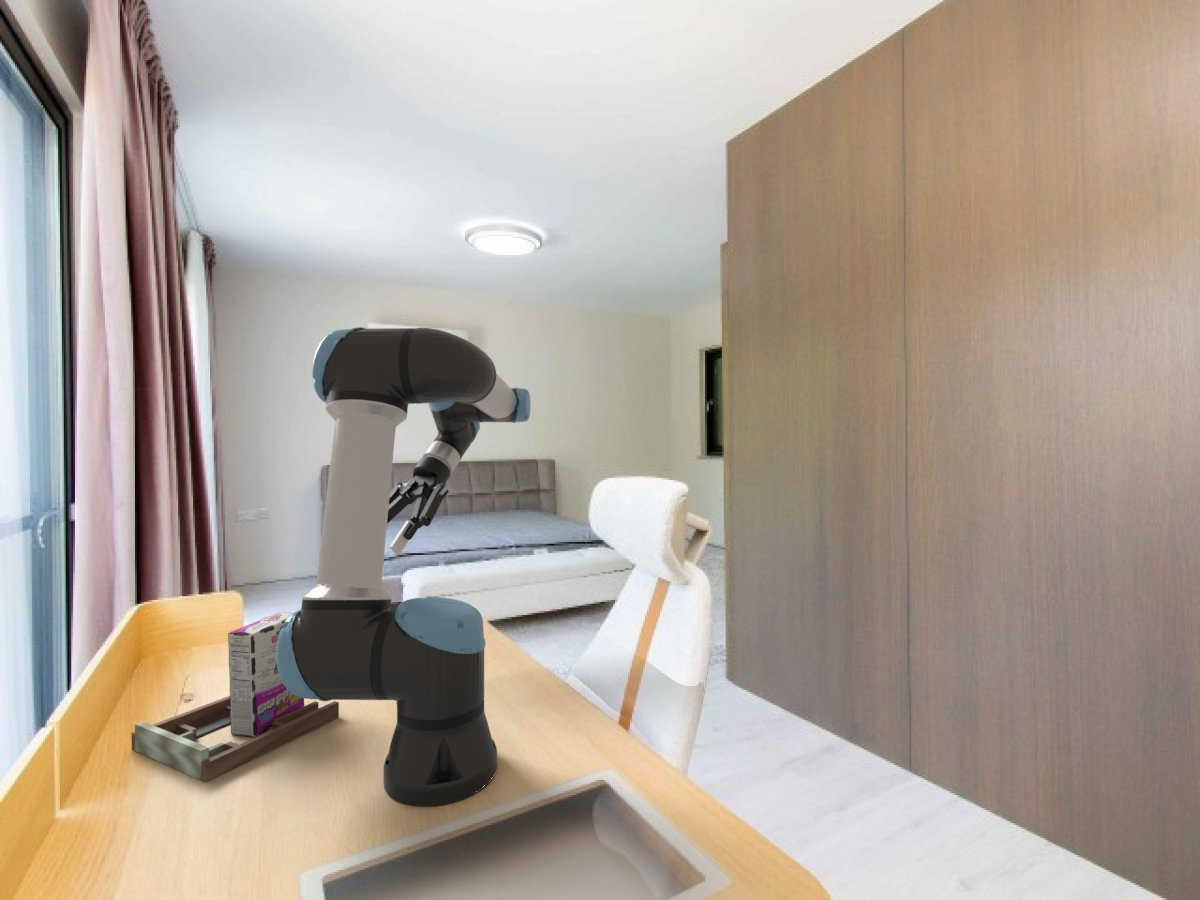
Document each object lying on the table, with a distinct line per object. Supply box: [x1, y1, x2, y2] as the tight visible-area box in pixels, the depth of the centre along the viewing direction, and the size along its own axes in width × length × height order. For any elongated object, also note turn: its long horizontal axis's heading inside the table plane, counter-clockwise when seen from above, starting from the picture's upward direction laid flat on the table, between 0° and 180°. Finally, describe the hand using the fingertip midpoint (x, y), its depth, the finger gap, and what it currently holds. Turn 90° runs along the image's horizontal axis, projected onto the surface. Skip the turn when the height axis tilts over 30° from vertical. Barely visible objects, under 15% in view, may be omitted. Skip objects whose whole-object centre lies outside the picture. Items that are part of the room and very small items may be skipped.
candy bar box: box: [227, 611, 305, 738], centre depth 96 cm, size 11×5×16 cm, turn 168°
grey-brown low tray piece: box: [130, 695, 340, 783], centre depth 92 cm, size 19×21×4 cm
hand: (380, 549), depth 117 cm, fingers open, 7 cm apart
